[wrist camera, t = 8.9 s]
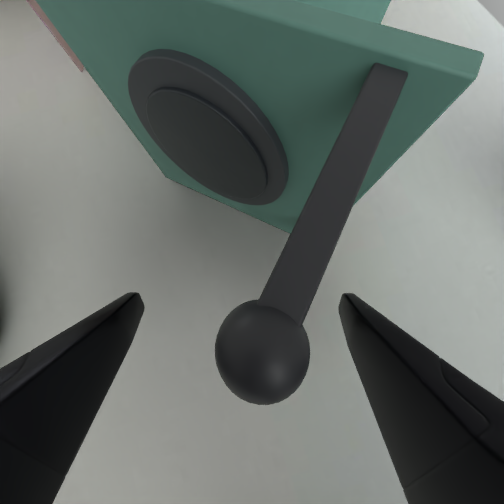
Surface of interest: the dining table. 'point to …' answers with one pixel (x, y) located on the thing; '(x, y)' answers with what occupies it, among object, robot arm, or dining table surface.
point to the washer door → (267, 131)
